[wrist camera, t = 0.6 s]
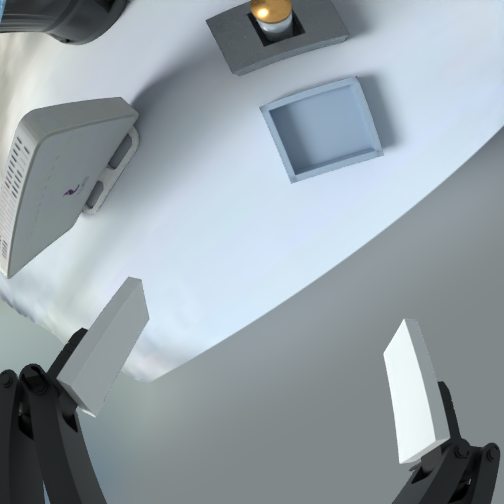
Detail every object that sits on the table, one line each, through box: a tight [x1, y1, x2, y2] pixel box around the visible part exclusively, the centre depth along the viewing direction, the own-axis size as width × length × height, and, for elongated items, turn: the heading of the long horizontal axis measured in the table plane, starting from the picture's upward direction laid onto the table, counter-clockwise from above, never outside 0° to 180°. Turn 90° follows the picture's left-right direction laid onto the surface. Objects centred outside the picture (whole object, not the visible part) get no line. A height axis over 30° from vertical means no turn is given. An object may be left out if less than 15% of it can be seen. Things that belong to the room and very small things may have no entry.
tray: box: [259, 76, 384, 184], centre depth 30 cm, size 12×10×3 cm
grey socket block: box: [205, 0, 349, 76], centre depth 24 cm, size 14×8×4 cm, turn 113°
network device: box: [0, 97, 139, 279], centre depth 30 cm, size 26×9×20 cm, turn 135°
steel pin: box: [250, 0, 293, 43], centre depth 21 cm, size 4×4×10 cm
